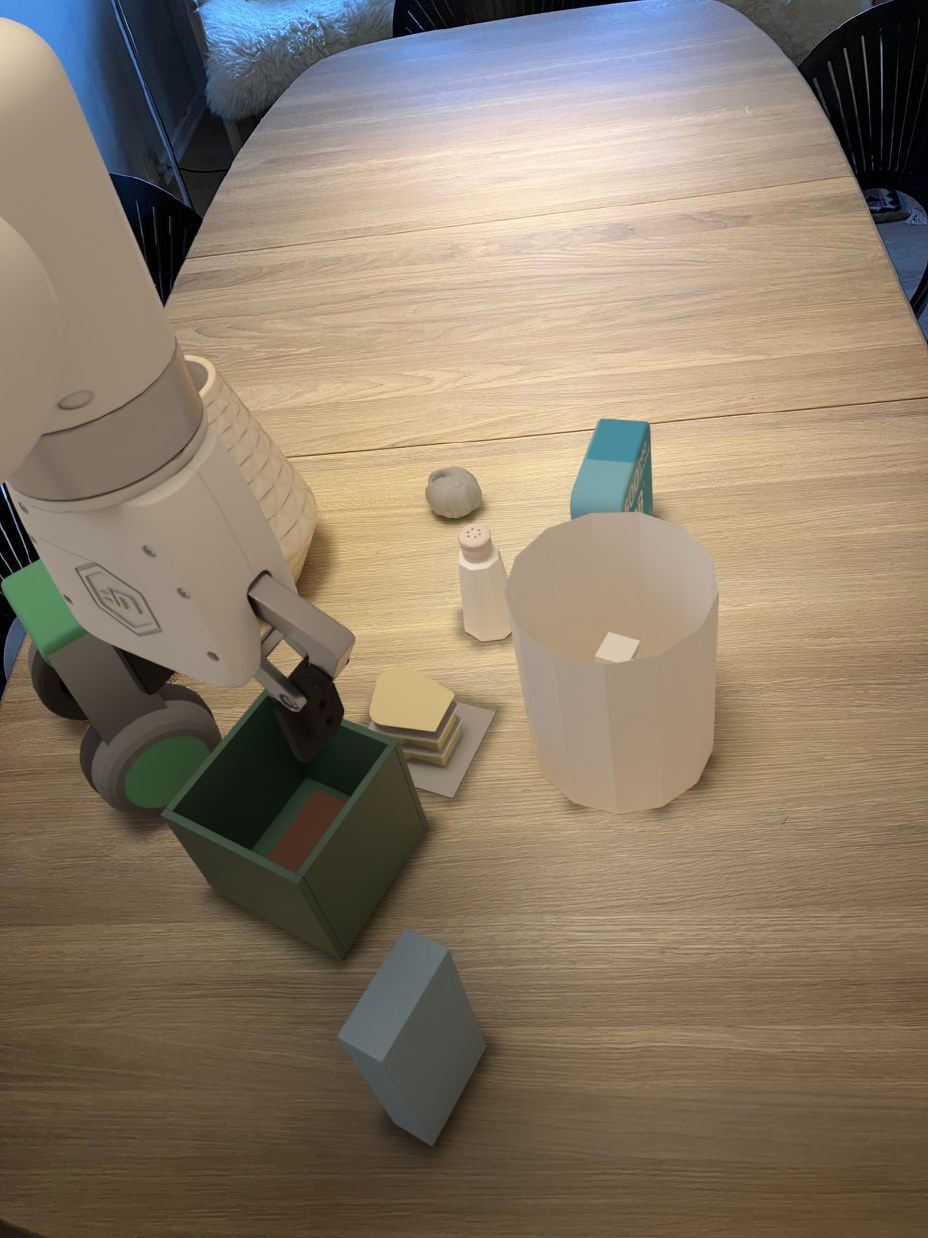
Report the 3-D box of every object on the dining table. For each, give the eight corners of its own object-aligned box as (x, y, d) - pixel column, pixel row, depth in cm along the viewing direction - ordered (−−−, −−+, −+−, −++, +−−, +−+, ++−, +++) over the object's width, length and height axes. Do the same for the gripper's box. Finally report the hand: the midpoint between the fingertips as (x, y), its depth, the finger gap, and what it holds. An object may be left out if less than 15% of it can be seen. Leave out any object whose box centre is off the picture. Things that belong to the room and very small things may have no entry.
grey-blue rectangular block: (432, 1147, 65) (381, 1063, 54) (393, 1123, 66) (336, 1036, 55) (487, 1046, 69) (449, 948, 58) (449, 1026, 70) (405, 926, 59)
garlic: (418, 521, 105) (408, 482, 101) (441, 487, 108) (432, 448, 104) (471, 532, 103) (463, 492, 99) (493, 497, 106) (486, 457, 102)
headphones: (53, 712, 95) (-61, 558, 81) (158, 649, 99) (67, 490, 84) (133, 848, 84) (17, 697, 69) (249, 772, 87) (162, 612, 73)
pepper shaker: (453, 637, 94) (432, 550, 86) (475, 594, 97) (455, 507, 89) (509, 648, 92) (492, 560, 84) (529, 604, 95) (514, 515, 87)
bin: (341, 961, 74) (297, 884, 66) (215, 893, 80) (159, 814, 71) (429, 827, 81) (399, 740, 72) (307, 772, 86) (265, 686, 78)
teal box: (627, 602, 93) (621, 503, 84) (579, 596, 95) (567, 498, 86) (653, 513, 100) (650, 413, 92) (608, 509, 102) (600, 410, 93)
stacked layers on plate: (496, 712, 87) (486, 671, 83) (452, 798, 82) (440, 759, 78) (392, 685, 91) (378, 644, 87) (345, 766, 86) (328, 727, 82)
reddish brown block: (312, 903, 77) (299, 880, 75) (276, 884, 79) (262, 862, 76) (363, 828, 81) (353, 804, 78) (328, 812, 82) (317, 788, 80)
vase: (236, 668, 95) (140, 477, 79) (132, 592, 105) (26, 407, 88) (369, 557, 103) (307, 360, 86) (260, 495, 112) (185, 307, 95)
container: (671, 840, 77) (668, 690, 64) (501, 775, 83) (467, 627, 70) (736, 696, 84) (746, 537, 71) (577, 647, 91) (559, 492, 77)
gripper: (-135, 428, 39) (63, 705, 51) (207, 539, 31) (342, 833, 44) (10, 321, 43) (161, 602, 55) (344, 398, 35) (433, 703, 48)
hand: (241, 704), depth 50 cm, fingers open, 9 cm apart
